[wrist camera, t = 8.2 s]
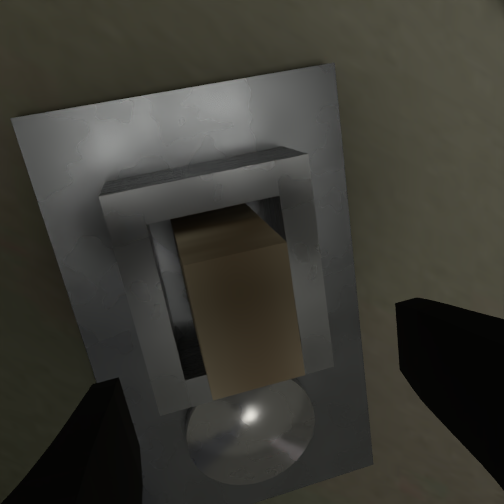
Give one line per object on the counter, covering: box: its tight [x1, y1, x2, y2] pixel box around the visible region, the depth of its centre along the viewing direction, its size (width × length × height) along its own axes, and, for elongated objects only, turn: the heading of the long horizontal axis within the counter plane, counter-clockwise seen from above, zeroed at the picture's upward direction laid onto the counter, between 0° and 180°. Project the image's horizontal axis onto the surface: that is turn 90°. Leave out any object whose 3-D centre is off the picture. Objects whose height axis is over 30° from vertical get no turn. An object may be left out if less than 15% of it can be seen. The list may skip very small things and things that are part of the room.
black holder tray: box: [11, 63, 373, 504], centre depth 20 cm, size 12×20×4 cm, turn 10°
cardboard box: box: [170, 203, 305, 400], centre depth 17 cm, size 3×4×6 cm, turn 9°
